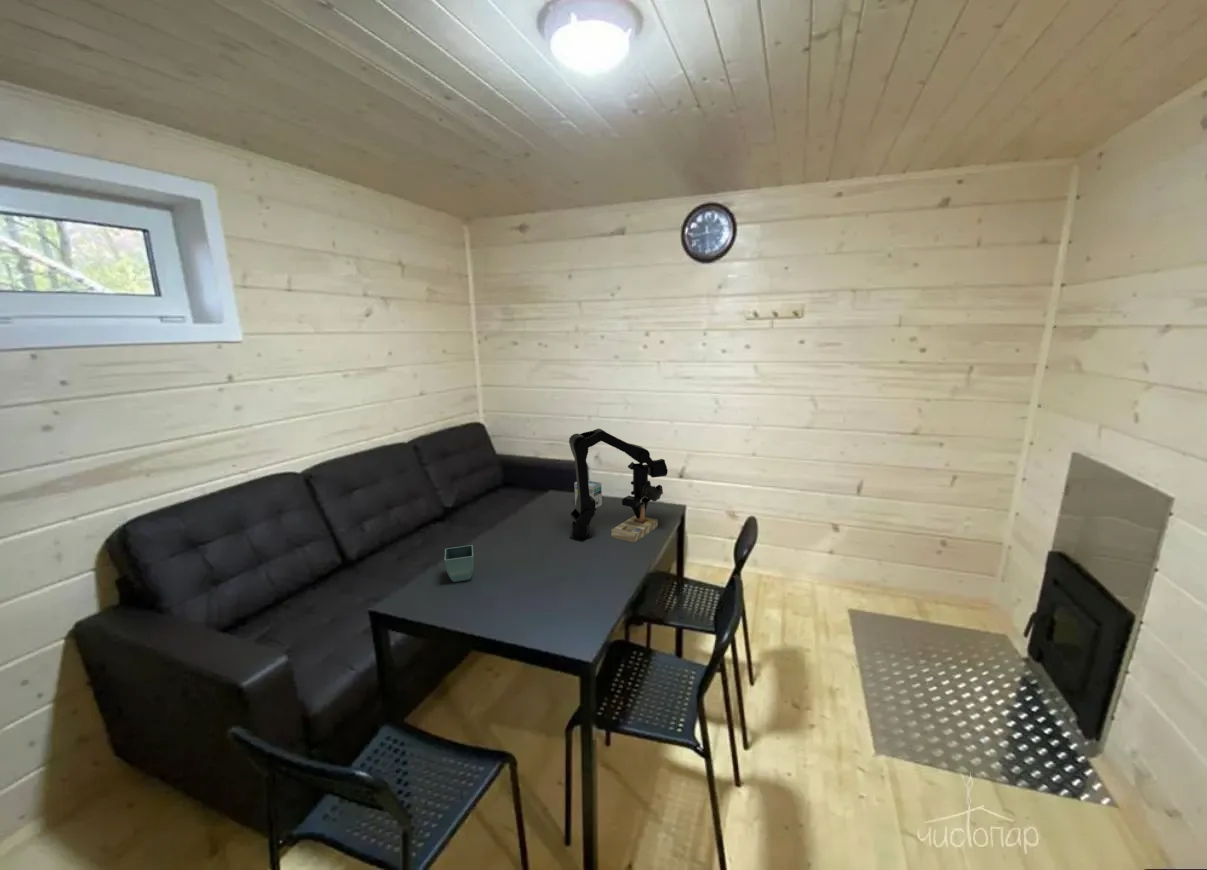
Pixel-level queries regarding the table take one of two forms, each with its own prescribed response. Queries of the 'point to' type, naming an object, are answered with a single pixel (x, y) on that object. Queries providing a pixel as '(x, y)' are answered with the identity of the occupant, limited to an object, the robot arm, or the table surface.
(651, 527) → the socket block
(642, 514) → the plug
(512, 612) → the table surface
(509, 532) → the table surface
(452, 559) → the flower pot
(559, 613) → the table surface
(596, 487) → the light bulb box
